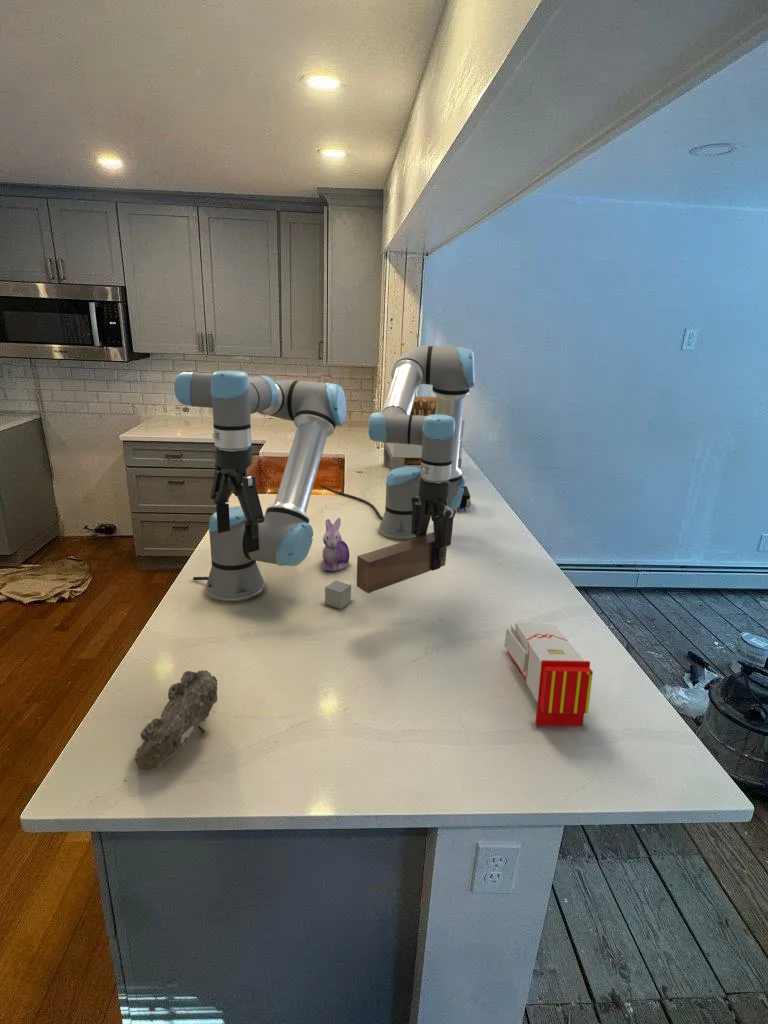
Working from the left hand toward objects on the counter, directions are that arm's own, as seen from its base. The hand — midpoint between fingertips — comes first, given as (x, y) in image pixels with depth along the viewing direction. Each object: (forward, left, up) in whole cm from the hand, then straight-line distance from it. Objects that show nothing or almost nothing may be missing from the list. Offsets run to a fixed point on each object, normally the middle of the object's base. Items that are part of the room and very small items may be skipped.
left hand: (237, 541), depth 126 cm
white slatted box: (+15, +156, -25) cm, 159 cm away
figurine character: (+40, +112, -25) cm, 121 cm away
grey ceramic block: (+16, +23, -25) cm, 37 cm away
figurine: (+9, +44, -25) cm, 51 cm away
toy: (+68, +2, -25) cm, 73 cm away
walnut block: (+34, +20, -12) cm, 41 cm away
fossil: (+4, -32, -25) cm, 40 cm away
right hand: (+39, +27, -12) cm, 49 cm away
